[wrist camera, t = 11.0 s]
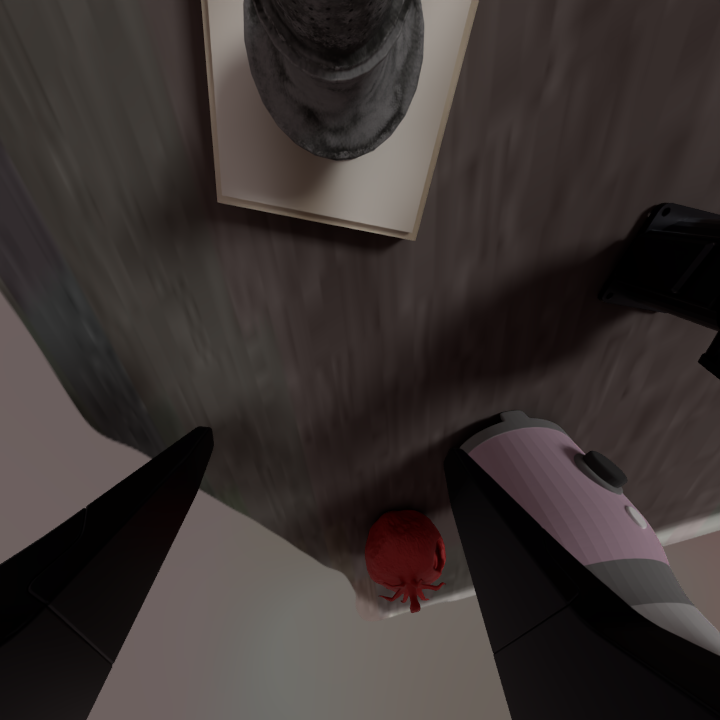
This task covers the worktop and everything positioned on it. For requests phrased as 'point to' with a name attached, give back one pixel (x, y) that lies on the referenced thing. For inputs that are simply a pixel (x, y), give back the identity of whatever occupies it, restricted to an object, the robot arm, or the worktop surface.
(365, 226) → the wooden tray
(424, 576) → the red tomato
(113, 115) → the worktop surface
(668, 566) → the blender
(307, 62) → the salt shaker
